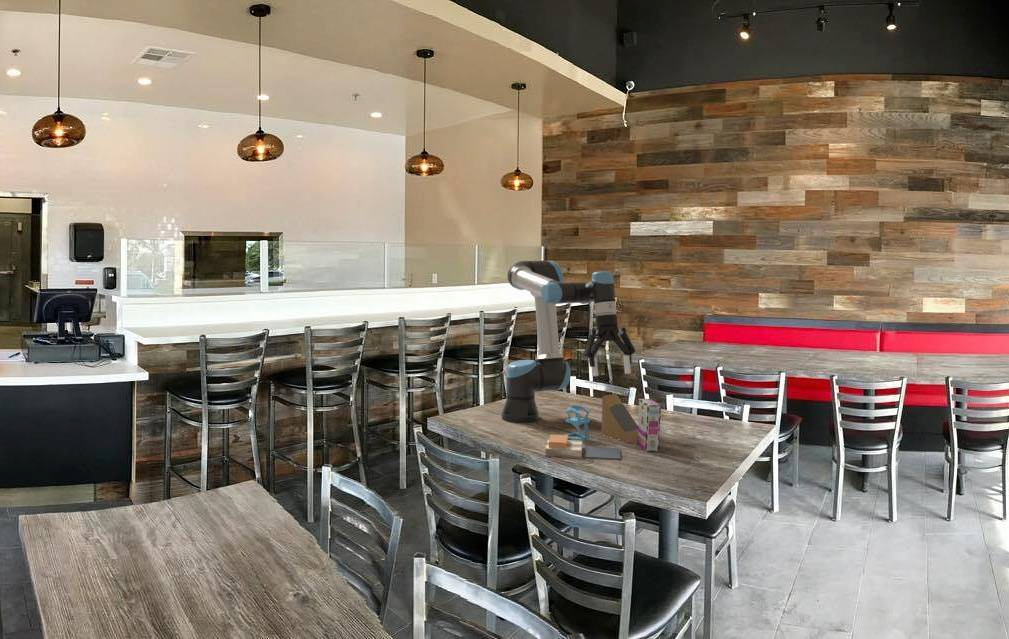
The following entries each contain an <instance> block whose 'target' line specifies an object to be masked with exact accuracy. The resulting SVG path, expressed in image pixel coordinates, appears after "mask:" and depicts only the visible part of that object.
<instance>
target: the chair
mask: <svg viewBox="0 0 1009 639" xmlns="http://www.w3.org/2000/svg"><path fill="white" fill-rule="evenodd" d="M581 410H582V411H585V412H586V413H585V418H583V417H581V415H582V413H581V412H579V411H581ZM570 413H574V416H573V417H571V415H570ZM589 413H590V410H589V409H587V408H586V407H584V406H581V405H571V406H569V407H568V408H567V409H566V414H567V419H565V420H564V422H565V423H569V424H571V425H572V426H573V427H575V429H576V430H577V431H576V432H575V431H574V432H571V433H567V434H566V435H568V440H569V439H570V440H581V441H582V442H585V441H589V440H590V439H589V438H590V437H589V423H590V422H591V419H589V417H588V416H589ZM581 425H583V427H584V434H583V433H582V430H581V428H580V426H581ZM575 436H576V437H575Z"/></svg>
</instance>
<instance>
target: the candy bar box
mask: <svg viewBox="0 0 1009 639" xmlns="http://www.w3.org/2000/svg"><path fill="white" fill-rule="evenodd" d="M661 408H662V406H661V405H660V404H659V403H658V402H656V401H655V400H653V399H652V398H639V399H638V416H637V417H638V420H637V421H638V423H637V425H638V440H637V443H636V444H638V445H639V446H640V447H641V448H642V450H644V451H645V452H646V453H658V452H660V432H661V428H660V427H661V414H662V413H661Z"/></svg>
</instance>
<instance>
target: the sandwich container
mask: <svg viewBox="0 0 1009 639" xmlns="http://www.w3.org/2000/svg"><path fill="white" fill-rule="evenodd" d="M601 399H602V400H601V436H603V435H605V436H604V437H607V436H608V437H607V438H610V437H612V438H611V439H614V438H616V439H615V440H618V439H620V440H619V441H621V440H624V441H623V442H625V441H628V442H627V443H629V442H631V443H630V444H633V443H635V444H637V443H636V442H637V440H638V423H637V422H636V421H635V420H634V418H633V417H632V415H631V413H630V412H629V410H628V409H627V407H626V406H625V405H624V403H623V401H622V400H621V399H620V397H619V395H618V394H617V393H612V394H607V395H603V396H602V398H601Z"/></svg>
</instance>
